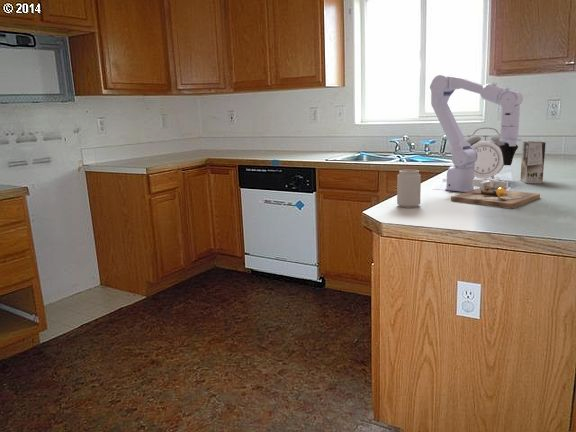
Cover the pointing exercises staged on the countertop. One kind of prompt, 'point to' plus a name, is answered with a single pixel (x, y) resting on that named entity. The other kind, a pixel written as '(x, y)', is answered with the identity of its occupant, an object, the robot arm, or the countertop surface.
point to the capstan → (491, 186)
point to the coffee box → (532, 161)
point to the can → (408, 188)
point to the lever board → (496, 198)
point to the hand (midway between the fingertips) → (507, 165)
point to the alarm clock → (487, 155)
